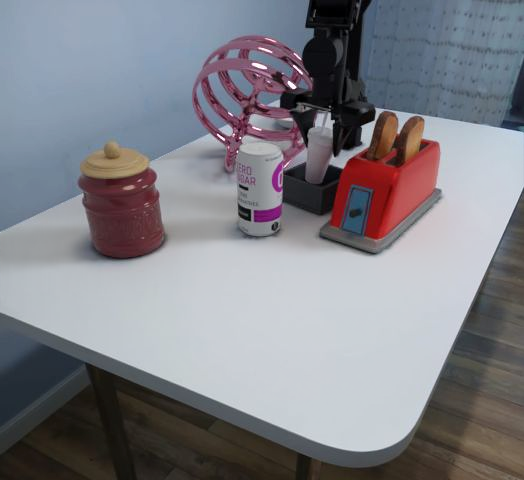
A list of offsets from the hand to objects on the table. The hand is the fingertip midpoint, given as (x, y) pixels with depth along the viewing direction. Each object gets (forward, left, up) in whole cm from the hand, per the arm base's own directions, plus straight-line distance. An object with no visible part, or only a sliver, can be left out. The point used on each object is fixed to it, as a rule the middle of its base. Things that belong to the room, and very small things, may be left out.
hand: (322, 152), depth 99 cm
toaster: (+15, +3, -10) cm, 18 cm away
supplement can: (0, -19, -10) cm, 21 cm away
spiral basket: (-22, +5, -10) cm, 25 cm away
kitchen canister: (-14, -39, -10) cm, 42 cm away
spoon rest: (-36, +39, -10) cm, 54 cm away
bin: (0, -1, -9) cm, 9 cm away
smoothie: (-1, 0, -6) cm, 6 cm away
